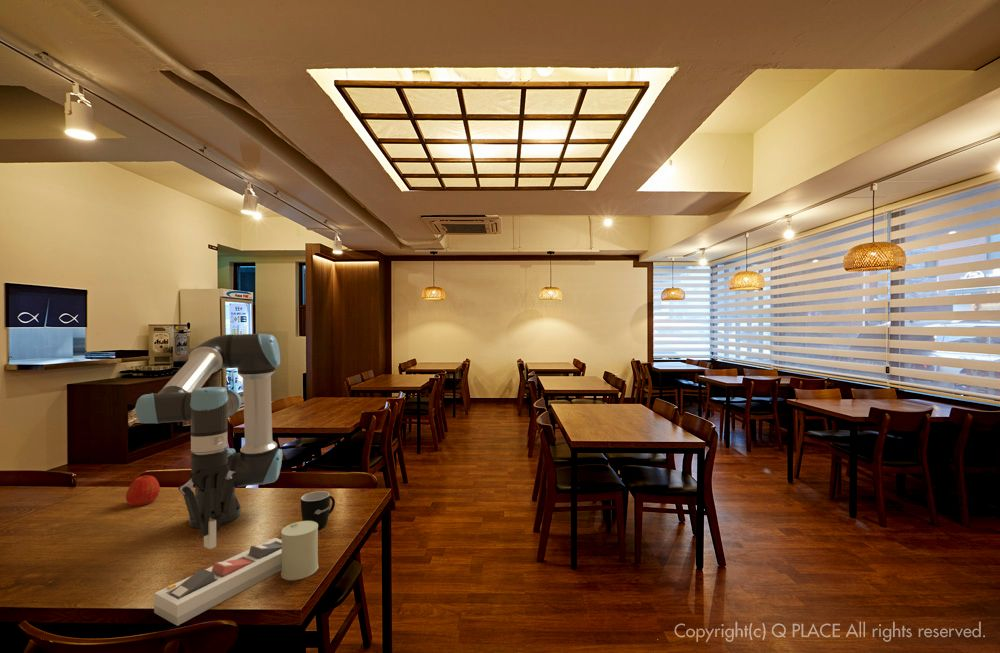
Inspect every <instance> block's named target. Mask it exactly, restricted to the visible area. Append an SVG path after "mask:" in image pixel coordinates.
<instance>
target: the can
mask: <svg viewBox="0 0 1000 653" xmlns="http://www.w3.org/2000/svg"><path fill="white" fill-rule="evenodd" d="M318 530H319V529H318V524H317V523H316V522H314V521H303V520H302V521H301V520H299V521H296V522H293V523H290V524H288V525H285V526H284V527H283V528H282V529H281V530H280V535H281V538H280V539H281V540H282V570H281V573H280V576H281V578H282V579H284V580H285V581H297V580H303V579H306V578H307V577H311V576H312V575H313V574H315V573H316V572H317V571H318V569H319V555H318V554H319V550H318V548H319V547H318V543H319V542H318V541H319V540H318V539H319V538H318V537H319V531H318Z"/></svg>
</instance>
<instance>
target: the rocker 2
mask: <svg viewBox="0 0 1000 653" xmlns="http://www.w3.org/2000/svg"><path fill="white" fill-rule="evenodd" d="M249 549H250V551H249V554H252V555H255V556H258V557H264V556H268V555H270V554H272V553H274V552H276V551H278V550H280V549H282V545H280V544H277V543H272V544H264V545H260V544H257V545H251V546H250V548H249Z"/></svg>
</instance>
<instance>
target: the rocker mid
mask: <svg viewBox="0 0 1000 653" xmlns="http://www.w3.org/2000/svg"><path fill="white" fill-rule="evenodd" d="M251 563H253V562H250V561H247V560H245V559H237V560H230V561H225V560H223V561H218V562H214V563H213V565H212V566H213V568H212V571H214V572H216V573H218V574H221V575H227V574H231V573H233V572H235V571H237V570H239V569H241V568H243V567H245V566H247V565H249V564H251Z"/></svg>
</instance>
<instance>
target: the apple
mask: <svg viewBox="0 0 1000 653" xmlns="http://www.w3.org/2000/svg"><path fill="white" fill-rule="evenodd" d="M160 487H161V486H160V483H159V481H158V479H157V478H156V477H155V476H153V475H150V474H149V475H147V474H145V475H141V476H137V478H135V479H134V480H132V482H131V484H130V485H129V487H128V489H127V491H126V494H125V501H126V502H127V504H128V505H129V506H130V507H131V506H133V507H141V506H140V505H142V506H146V505H148V504H150V503H152V502H154V501H155V500H156V499H157V497H158V496H159V493H160V491H161V490H160V489H161V488H160ZM145 504H146V505H145Z"/></svg>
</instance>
